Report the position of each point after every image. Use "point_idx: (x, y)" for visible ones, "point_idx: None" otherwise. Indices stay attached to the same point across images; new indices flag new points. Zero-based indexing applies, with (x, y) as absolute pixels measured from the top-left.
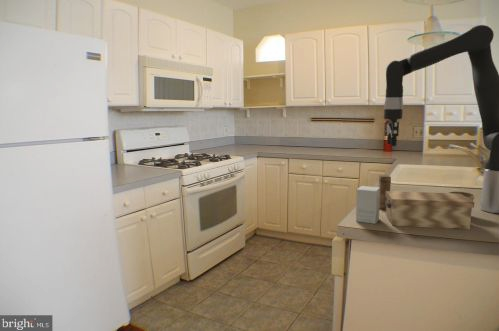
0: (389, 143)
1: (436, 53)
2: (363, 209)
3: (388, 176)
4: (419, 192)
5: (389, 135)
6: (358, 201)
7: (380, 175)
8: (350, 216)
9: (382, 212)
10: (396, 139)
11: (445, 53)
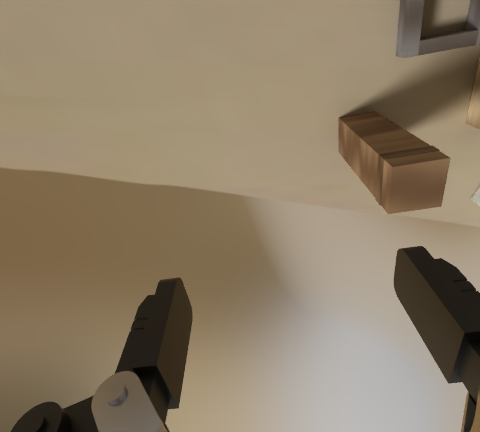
0: (185, 302)
1: None
2: None
3: (433, 170)
4: None
5: (164, 404)
6: None
7: (401, 208)
8: (466, 222)
9: (418, 135)
10: (470, 304)
11: None
